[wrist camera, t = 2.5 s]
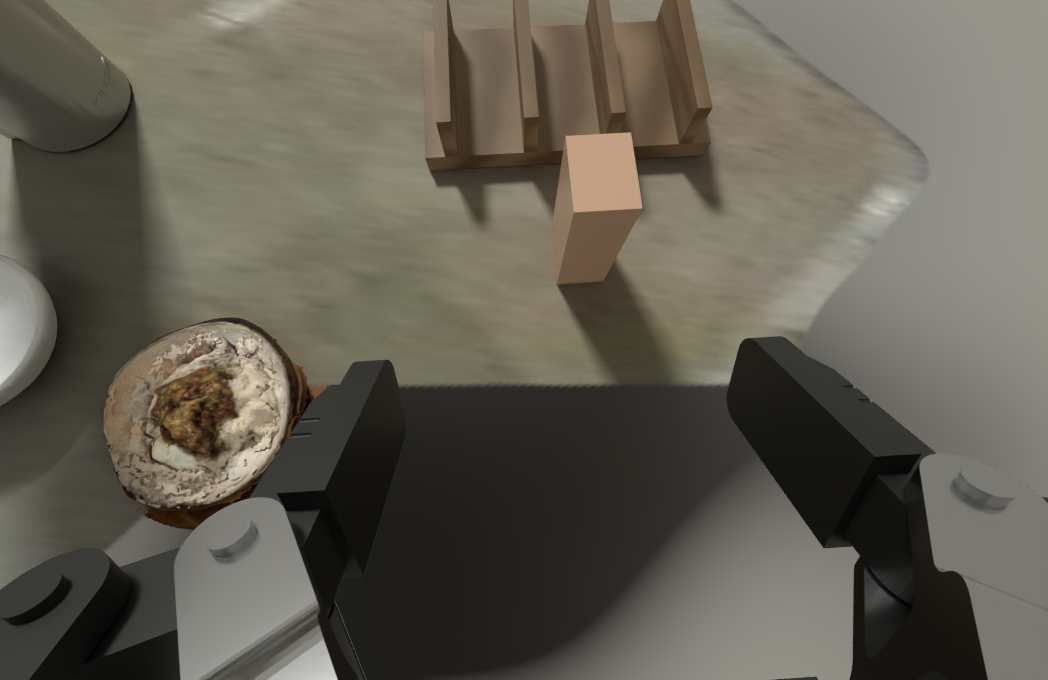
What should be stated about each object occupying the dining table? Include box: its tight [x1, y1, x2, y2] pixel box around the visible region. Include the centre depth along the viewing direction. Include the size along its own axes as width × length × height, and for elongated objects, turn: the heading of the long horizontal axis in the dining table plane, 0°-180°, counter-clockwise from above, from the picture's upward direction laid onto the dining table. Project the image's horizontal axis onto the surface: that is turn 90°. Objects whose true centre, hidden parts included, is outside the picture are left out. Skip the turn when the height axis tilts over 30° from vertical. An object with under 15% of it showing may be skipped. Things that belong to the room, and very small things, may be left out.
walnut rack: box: [423, 0, 712, 171], centre depth 31 cm, size 22×12×5 cm, turn 94°
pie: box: [101, 318, 326, 530], centre depth 26 cm, size 15×15×4 cm
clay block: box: [551, 132, 642, 284], centre depth 26 cm, size 4×4×10 cm
